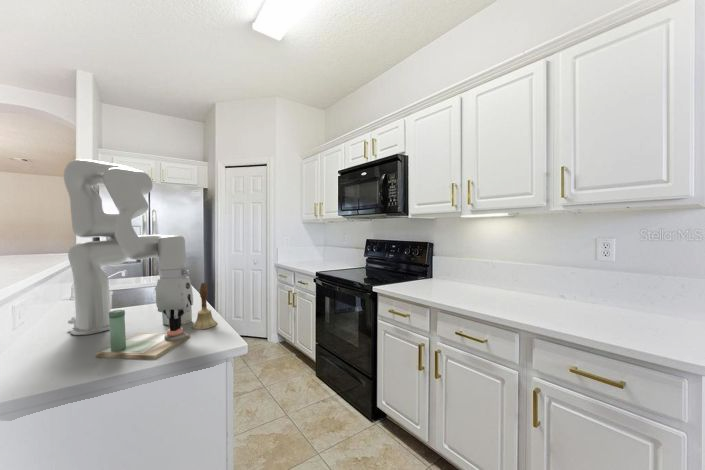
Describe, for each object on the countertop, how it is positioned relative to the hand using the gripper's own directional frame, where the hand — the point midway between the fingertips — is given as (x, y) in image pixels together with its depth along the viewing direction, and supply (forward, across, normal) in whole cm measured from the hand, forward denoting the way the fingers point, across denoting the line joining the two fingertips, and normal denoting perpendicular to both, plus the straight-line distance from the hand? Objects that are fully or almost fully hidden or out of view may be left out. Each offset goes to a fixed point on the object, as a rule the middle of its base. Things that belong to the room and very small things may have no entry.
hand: (175, 329), depth 99 cm
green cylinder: (+2, +11, +10) cm, 15 cm away
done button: (+1, 0, 0) cm, 1 cm away
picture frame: (+4, +6, +5) cm, 9 cm away
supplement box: (+4, +10, -16) cm, 19 cm away
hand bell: (+4, -2, -14) cm, 15 cm away
